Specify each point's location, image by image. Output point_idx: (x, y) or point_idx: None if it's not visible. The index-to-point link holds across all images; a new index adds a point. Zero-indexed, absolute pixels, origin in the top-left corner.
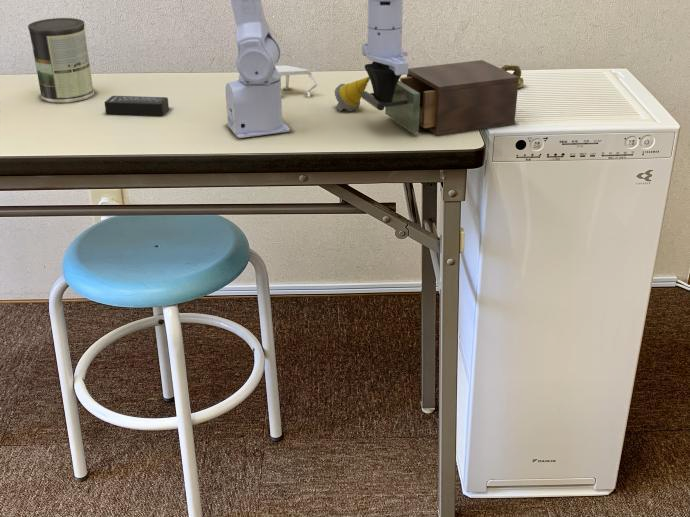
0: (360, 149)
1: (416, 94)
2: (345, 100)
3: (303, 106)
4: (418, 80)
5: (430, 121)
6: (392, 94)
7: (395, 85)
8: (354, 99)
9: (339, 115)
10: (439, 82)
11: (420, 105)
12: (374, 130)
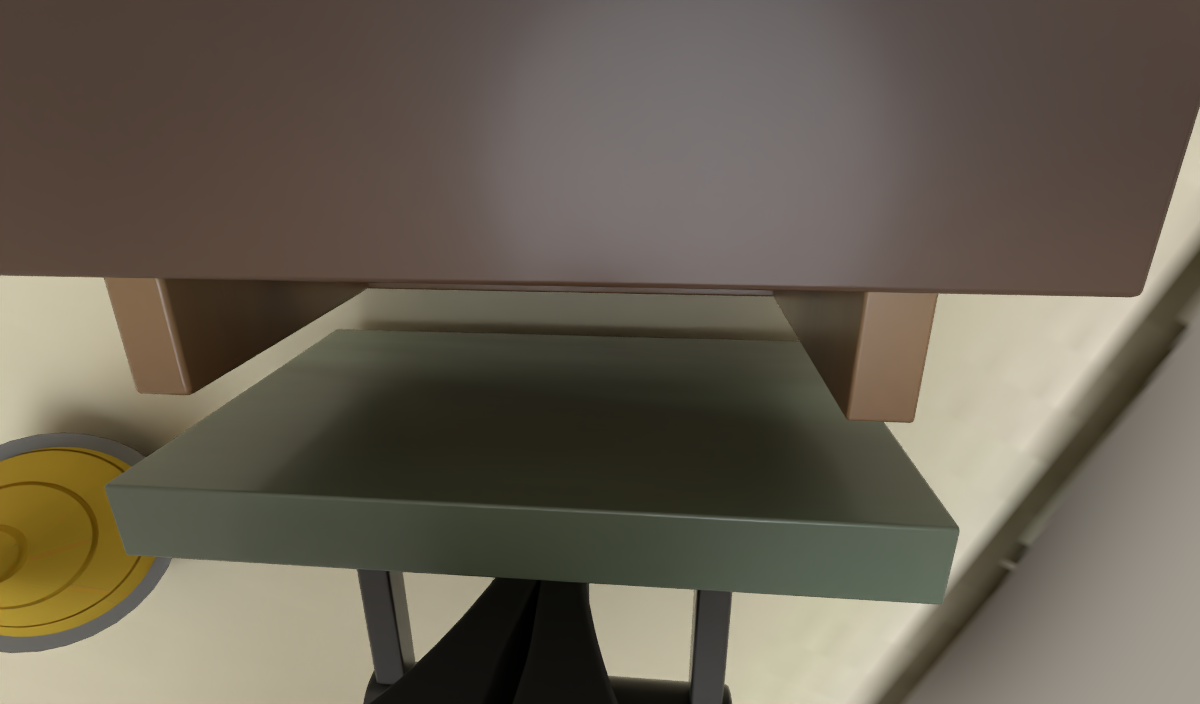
0: (827, 694)
1: (948, 570)
2: (137, 582)
3: (50, 660)
4: None
5: None
6: (588, 618)
7: (611, 696)
8: None
9: (237, 569)
10: (894, 148)
11: None
12: None
